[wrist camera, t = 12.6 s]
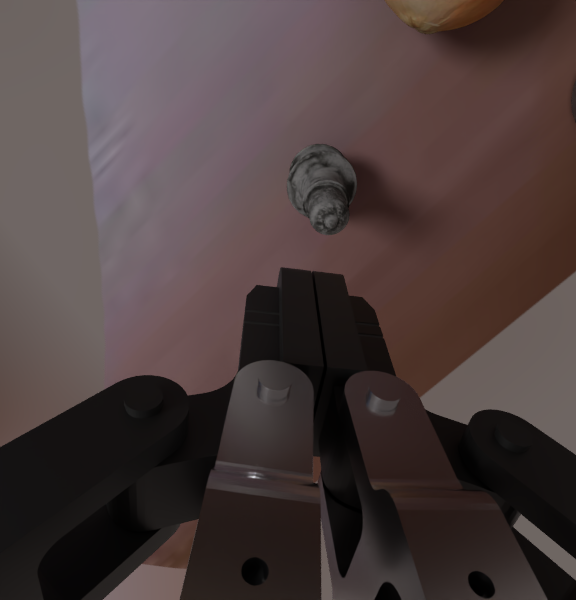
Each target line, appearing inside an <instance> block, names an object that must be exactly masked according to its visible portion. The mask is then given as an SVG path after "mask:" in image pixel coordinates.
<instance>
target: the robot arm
mask: <svg viewBox="0 0 576 600" xmlns="http://www.w3.org/2000/svg"><path fill="white" fill-rule="evenodd" d="M571 102H572V113H573V116H574V119H575V122H576V81H575V84H574V87H573V93H572V100H571ZM313 456H317V457H320V461H321V472H320V476H319V479H318V483H317V484H316V483H313ZM521 514H522V515H523V516H524V517H525V518H527V519H528V520H529V521H530V522H531V523H533V524H534V525H535V526H536V527H537V528H539V529H540V530H541V531H542V532H544V533H545V534H546V535H547V536H548V537H550V538H551V539H552V540H553V541H555V542H556V543H557V544H558V545H559V546H561V547H562V548H563V549H564V550H565V551H567V552H568V553H569V554H570V555H572V556H573V557H574V558H575V559H576V455H575V454H574V453H572V452H571V451H569V450H568V449H566V448H565V447H564V446H562V445H560V444H559V443H558V442H556V441H555V440H553V439H552V438H550V437H549V436H547V435H546V434H544V433H543V432H542V431H540V430H539V429H537V428H536V427H534V426H533V425H532V424H530V423H528V422H527V421H525V420H523V419H522V418H520V417H518V416H515V415H513V414H511V413H507V412H504V411H499V410H483V411H479V412H477V413H475V414H474V415H473V416H472V418H471V420H470V422H469V424H468V425H466V424H463V423H460V422H457V421H454V420H451V419H448V418H445V417H442V416H439V415H436V414H434V413H431V412H429V411H427V410H425V408H424V406H423V404H422V402H421V400H420V398H419V396H418V394H417V393H416V392H415V390H414V389H413V388H412V387H411V386H410V385H409V384H407V383H406V382H405V381H403V380H401V379H400V378H398V377H396V374H395V371H394V368H393V365H392V362H391V359H390V356H389V353H388V350H387V346H386V343H385V340H384V338H383V334H382V331H381V328H380V327H379V322H378V319H377V316H376V313H375V310H374V309H373V308H372V307H371V306H370V305H369V304H368V303H367V302H366V301H365V300H364V299H363V297H356V296H349V295H348V291H347V287H346V283H345V279H344V276H343V275H341V274H333V273H325V272H316V271H313V272H312V273H311V271H307V270H299V269H291V268H283V267H281V268H280V272H279V277H278V284H277V287H270V286H261V285H256V286H255V288H254V289H253V290H252V291H251V292H250V293H249V294H248V295H247V298H246V306H245V315H244V323H243V331H242V340H241V348H240V358H239V367H238V372H237V374H236V376H235V377H234V379H233V380H232V381H231V382H229V383H228V384H227V385H225V386H224V387H222V388H220V389H217V390H215V391H212V392H207V393H203V394H196V395H189V396H187V394H186V392H185V391H184V389H183V388H182V387H181V386H180V385H179V384H177V383H175V382H174V381H172V380H170V379H167V378H164V377H160V376H153V375H143V376H135V377H130V378H127V379H124V380H122V381H120V382H117V383H115V384H114V385H112V386H110V387H108V388H106V389H105V390H103V391H101V392H99V393H97V394H96V395H94V396H92V397H90V398H88V399H87V400H85V401H83V402H81V403H80V404H77V405H76V406H74V407H72V408H70V409H69V410H67V411H65V412H63V413H61V414H60V415H58V416H56V417H54V418H52V419H50V420H49V421H47V422H45V423H43V424H41V425H40V426H38V427H36V428H34V429H32V430H30V431H29V432H27V433H25V434H23V435H21V436H20V437H18V438H16V439H14V440H12V441H11V442H9V443H7V444H5V445H3V446H2V447H0V600H103V599H104V598H105V597H106V596H107V595H108V594H109V593H110V592H111V591H113V590H114V589H115V588H116V587H117V586H118V585H119V584H120V583H121V582H122V581H123V580H124V579H126V578H127V577H128V576H129V575H130V574H131V573H132V572H133V571H134V570H135V569H136V568H137V567H138V566H140V565H141V564H142V563H143V562H144V561H145V560H146V559H147V558H148V557H149V556H151V555H152V554H153V553H154V552H155V551H156V550H157V549H158V548H159V547H160V546H161V545H162V544H164V543H165V542H166V541H167V540H168V539H169V538H170V537H171V536H172V535H173V534H174V533H175V532H176V530H177V529H178V527H179V526H180V524H181V523H184V522H188V521H192V520H196V519H199V520H198V524H197V528H196V532H195V537H194V541H193V545H192V549H191V554H190V558H189V562H188V566H187V571H186V575H185V579H184V583H183V588H182V592H181V596H180V600H321V522H322V528H323V534H324V540H325V546H326V552H327V558H328V564H329V570H330V576H331V582H332V594H333V600H576V580H574V579H573V578H572V577H571V576H570V575H569V574H567V573H566V572H565V571H564V570H563V569H561V568H560V567H559V566H558V565H557V564H556V563H554V562H553V561H552V560H551V559H550V558H549V557H547V556H546V555H545V554H544V553H543V552H542V551H540V550H539V549H538V548H537V547H536V546H534V545H533V544H532V543H531V542H530V541H529V540H527V539H526V538H525V537H524V536H523V535H522V534H520V533H519V532H518V531H517V530H516V529H515V528H513V525H514V524H515V522H516V521H517V519H518V518H519V516H520V515H521Z"/></svg>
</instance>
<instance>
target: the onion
mask: <svg viewBox="0 0 576 600" xmlns="http://www.w3.org/2000/svg"><path fill="white" fill-rule="evenodd" d="M503 1H504V0H385V2H386V3H387V5H388V6H389V7H390V8H391V9H392V10H393V11H394V13H395V14H396V15H397V16H398V17H399V18H400V19H401V20H402V21H403V22H404V23H406V24H407V25H408V26H410V27H412V28H415V29H416V30H417V31H418V32H420V33H424V34H433V33H436V32H438V31H445V30H452V29H456V28H461V27H464V26H467V25H469V24H471V23H474V22H476V21H478V20H479V19H481V18H483V17H485V16H486V15H488V14H489V13H490V12H492V11H493V10H494V9H496V8H497V7H498V6H499V5H500V4H501V3H502V2H503Z"/></svg>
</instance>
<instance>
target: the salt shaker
mask: <svg viewBox="0 0 576 600" xmlns="http://www.w3.org/2000/svg"><path fill="white" fill-rule="evenodd" d="M356 188H357V179H356V174H355V172H354V169H353V167H352V165H351V164H350V163H349V162H348V161H347V159H345V158H344V157H343V155H342V154H341V153H340V152H339V151H338V150H337V149H335V148H334V147H332V146H329V145H326V144H315V145H311V146H308V147H306V148H304V149H302V150H301V151H300V152H299V153H298V154H297V155H296V156H295V158H294V160H293V161H292V164H291V167H290V174H289V177H288V180H287V192H288V197H289V199H290V201H291V203H292V205H293V207H294V208H295V209H296V210H297V211H298V212H299V213H301V214H303V215H304V216H306V217H308V218H309V219H310V223H311V225H312V226H313V228H314V229H315V230H316V231H317V232H319V233H321V234H324V235H333V234H336V233H338V232H340V231H341V230H343V229H344V228H345V226H346V225H347V223H348V220H349V209H348V208H349V205H350V204H351V202H352V201H353V198H354V196H355V194H356Z"/></svg>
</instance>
